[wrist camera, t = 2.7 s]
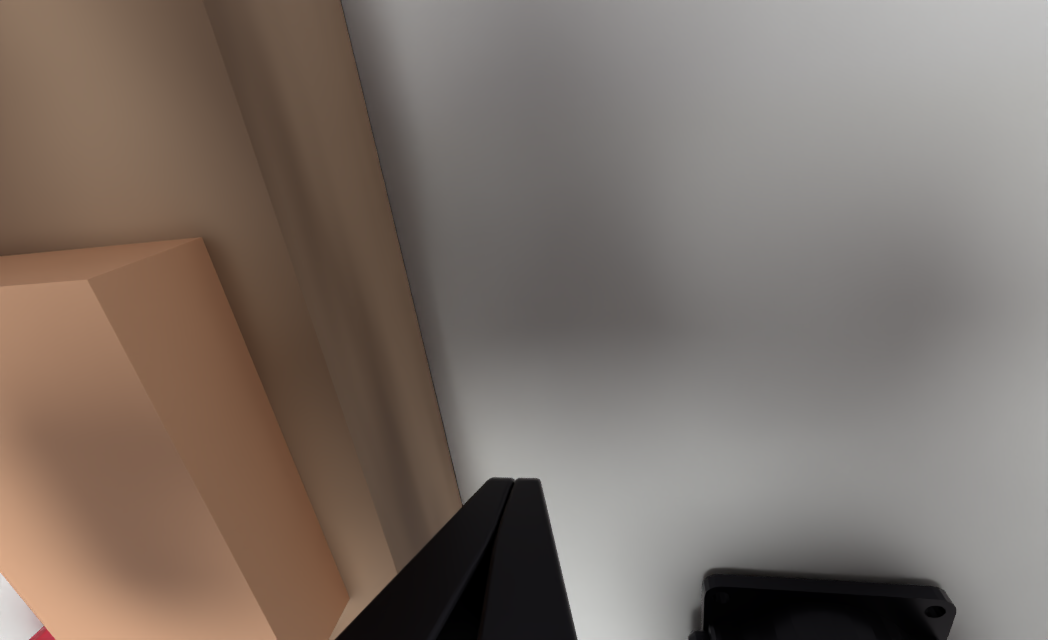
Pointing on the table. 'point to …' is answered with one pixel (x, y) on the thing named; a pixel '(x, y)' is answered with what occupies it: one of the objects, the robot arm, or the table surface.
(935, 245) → the table surface
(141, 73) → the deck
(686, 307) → the table surface
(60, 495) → the light orange block
